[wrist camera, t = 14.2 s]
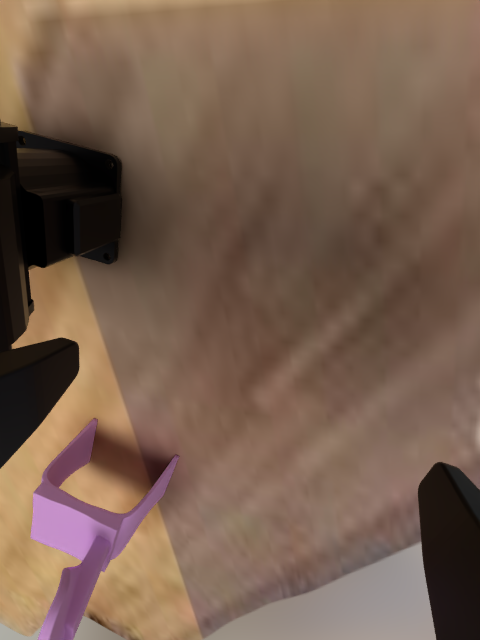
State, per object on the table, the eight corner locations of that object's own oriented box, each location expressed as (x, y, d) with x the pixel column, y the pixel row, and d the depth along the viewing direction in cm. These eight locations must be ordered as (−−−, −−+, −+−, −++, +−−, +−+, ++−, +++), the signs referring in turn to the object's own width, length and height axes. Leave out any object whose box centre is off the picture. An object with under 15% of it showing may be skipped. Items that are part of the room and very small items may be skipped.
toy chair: (90, 407, 29) (-102, 616, 16) (182, 448, 29) (64, 695, 16) (80, 464, 33) (-80, 668, 20) (161, 500, 33) (53, 732, 20)
